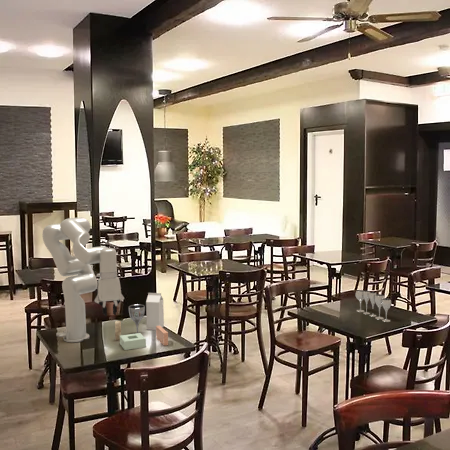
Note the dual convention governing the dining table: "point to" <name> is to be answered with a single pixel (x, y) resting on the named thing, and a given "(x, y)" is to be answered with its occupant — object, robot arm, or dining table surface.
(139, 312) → the wine glass
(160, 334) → the orange rectangular block
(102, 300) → the robot arm
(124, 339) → the tissue box
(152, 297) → the milk carton
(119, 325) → the dowel
